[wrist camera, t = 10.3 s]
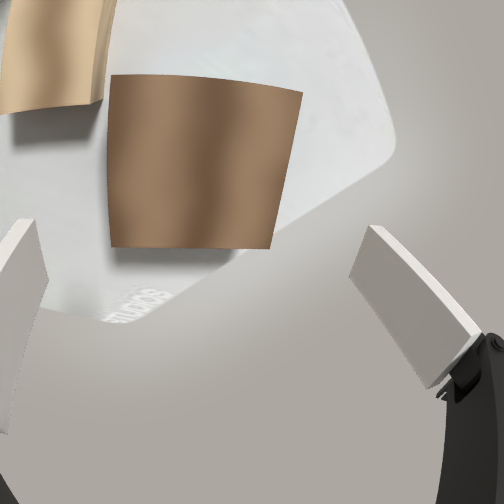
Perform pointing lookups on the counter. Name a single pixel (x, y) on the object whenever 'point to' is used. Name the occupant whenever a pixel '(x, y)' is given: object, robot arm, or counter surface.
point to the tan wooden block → (55, 53)
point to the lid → (196, 161)
